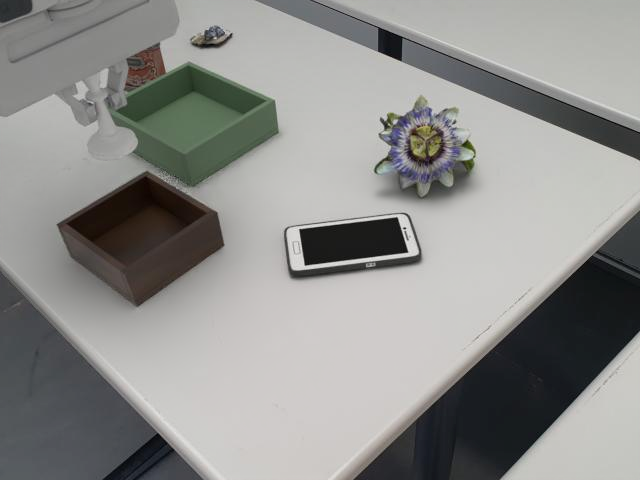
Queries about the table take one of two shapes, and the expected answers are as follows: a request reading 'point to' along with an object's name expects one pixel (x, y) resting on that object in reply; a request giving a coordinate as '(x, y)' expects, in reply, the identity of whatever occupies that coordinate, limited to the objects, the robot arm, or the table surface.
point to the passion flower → (425, 147)
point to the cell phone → (351, 244)
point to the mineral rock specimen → (210, 36)
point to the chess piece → (106, 127)
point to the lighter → (144, 67)
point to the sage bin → (195, 121)
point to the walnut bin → (142, 236)
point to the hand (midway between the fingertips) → (102, 114)
